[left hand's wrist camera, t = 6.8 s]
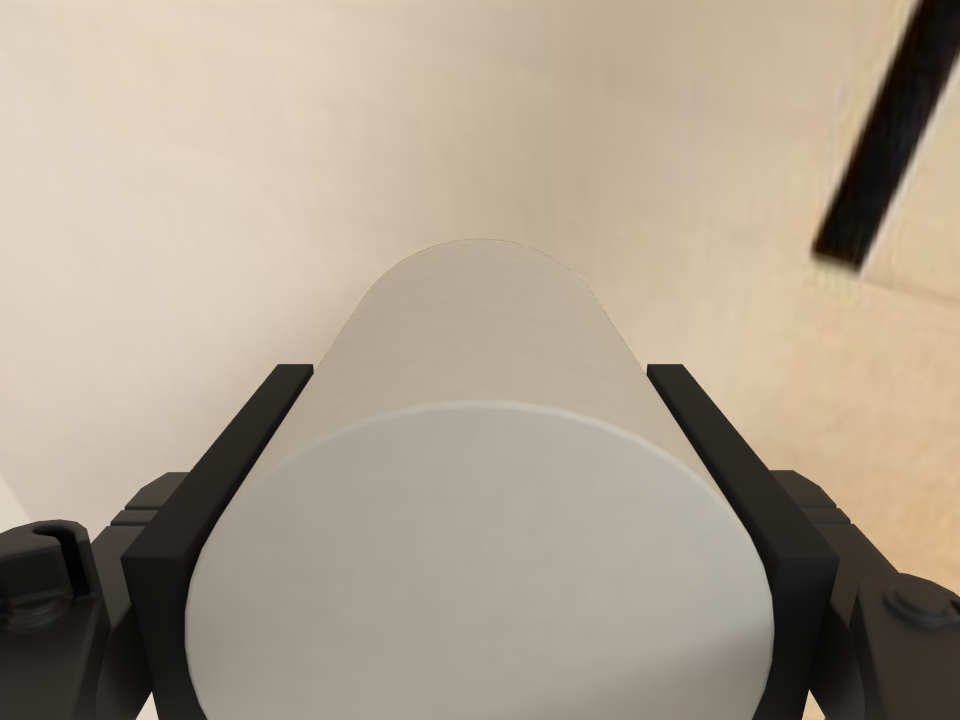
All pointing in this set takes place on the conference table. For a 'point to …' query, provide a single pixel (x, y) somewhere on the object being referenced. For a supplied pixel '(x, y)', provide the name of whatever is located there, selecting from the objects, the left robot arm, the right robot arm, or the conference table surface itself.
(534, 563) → the can
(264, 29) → the conference table surface
